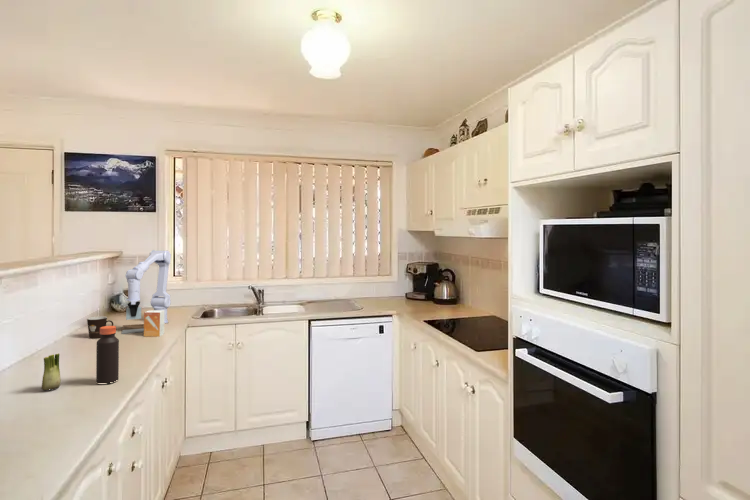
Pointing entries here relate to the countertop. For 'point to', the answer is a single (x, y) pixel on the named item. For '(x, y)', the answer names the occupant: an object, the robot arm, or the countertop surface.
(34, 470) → the countertop surface
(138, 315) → the painted block
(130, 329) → the rubber mat
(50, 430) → the countertop surface
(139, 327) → the walnut frame
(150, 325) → the small box
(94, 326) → the coffee mug
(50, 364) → the fennel bulb
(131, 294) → the robot arm
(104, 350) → the bottle
